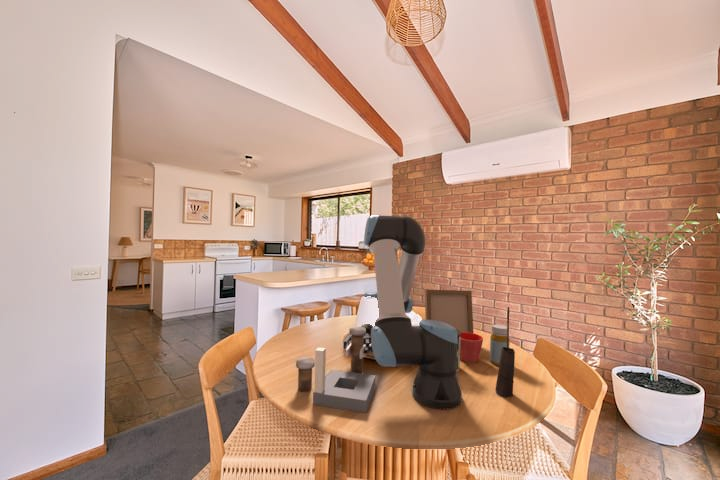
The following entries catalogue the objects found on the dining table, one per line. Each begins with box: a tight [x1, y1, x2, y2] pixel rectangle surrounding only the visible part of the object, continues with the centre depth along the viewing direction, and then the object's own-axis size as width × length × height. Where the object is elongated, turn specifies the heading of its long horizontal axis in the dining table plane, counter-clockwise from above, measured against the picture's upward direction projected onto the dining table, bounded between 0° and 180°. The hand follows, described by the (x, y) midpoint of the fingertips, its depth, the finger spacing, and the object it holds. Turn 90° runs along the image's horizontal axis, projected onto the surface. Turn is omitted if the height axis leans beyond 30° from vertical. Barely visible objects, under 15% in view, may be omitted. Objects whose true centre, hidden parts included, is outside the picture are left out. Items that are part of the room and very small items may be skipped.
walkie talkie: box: [495, 306, 516, 398], centre depth 96 cm, size 9×10×28 cm
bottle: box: [489, 323, 510, 367], centre depth 121 cm, size 7×7×15 cm
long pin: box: [348, 326, 366, 374], centre depth 107 cm, size 6×6×16 cm
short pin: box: [295, 356, 315, 393], centre depth 97 cm, size 6×6×9 cm
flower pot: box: [460, 332, 484, 364], centre depth 124 cm, size 11×11×10 cm
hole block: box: [312, 347, 377, 414], centre depth 94 cm, size 16×16×16 cm
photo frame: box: [424, 289, 474, 333], centre depth 147 cm, size 15×22×25 cm
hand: (353, 354), depth 102 cm, fingers closed on long pin, 4 cm apart
